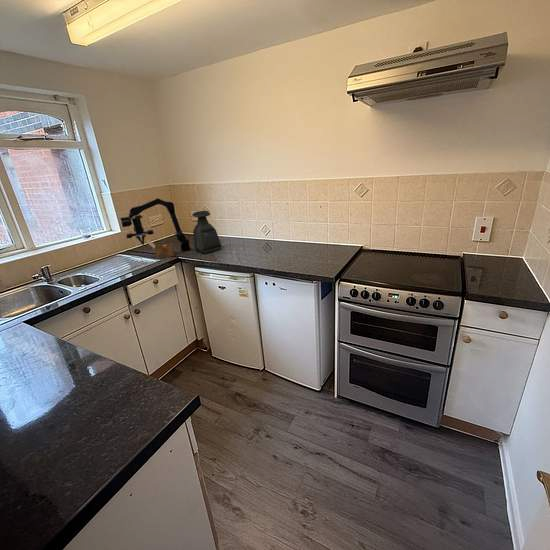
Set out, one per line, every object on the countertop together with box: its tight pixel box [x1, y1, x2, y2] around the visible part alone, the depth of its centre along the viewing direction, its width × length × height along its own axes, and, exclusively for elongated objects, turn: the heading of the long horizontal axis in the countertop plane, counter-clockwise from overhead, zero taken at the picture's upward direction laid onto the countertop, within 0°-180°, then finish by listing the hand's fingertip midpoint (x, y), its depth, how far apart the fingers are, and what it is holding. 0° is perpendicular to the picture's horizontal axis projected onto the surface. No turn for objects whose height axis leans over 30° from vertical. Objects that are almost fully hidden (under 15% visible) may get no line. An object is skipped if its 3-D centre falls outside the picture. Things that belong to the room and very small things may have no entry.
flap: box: [146, 239, 156, 250], centre depth 227 cm, size 6×12×1 cm
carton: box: [154, 242, 176, 260], centre depth 232 cm, size 13×12×8 cm
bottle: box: [191, 210, 222, 255], centre depth 228 cm, size 18×16×30 cm
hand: (143, 244), depth 225 cm, fingers closed
